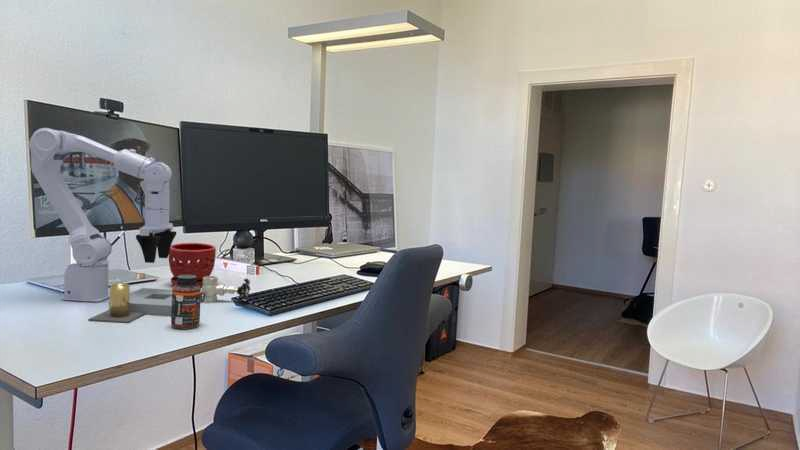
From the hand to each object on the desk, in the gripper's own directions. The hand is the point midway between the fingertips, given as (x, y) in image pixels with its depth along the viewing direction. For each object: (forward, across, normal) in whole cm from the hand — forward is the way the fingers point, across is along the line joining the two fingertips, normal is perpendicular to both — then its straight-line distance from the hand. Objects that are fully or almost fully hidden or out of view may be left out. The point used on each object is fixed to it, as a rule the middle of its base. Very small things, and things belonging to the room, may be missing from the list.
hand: (156, 260), depth 139 cm
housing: (+10, -7, -4) cm, 13 cm away
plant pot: (+11, +19, -2) cm, 22 cm away
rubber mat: (+10, -18, 0) cm, 21 cm away
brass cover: (+10, -18, 0) cm, 21 cm away
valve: (+11, +2, -18) cm, 21 cm away
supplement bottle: (+11, -22, -17) cm, 30 cm away
